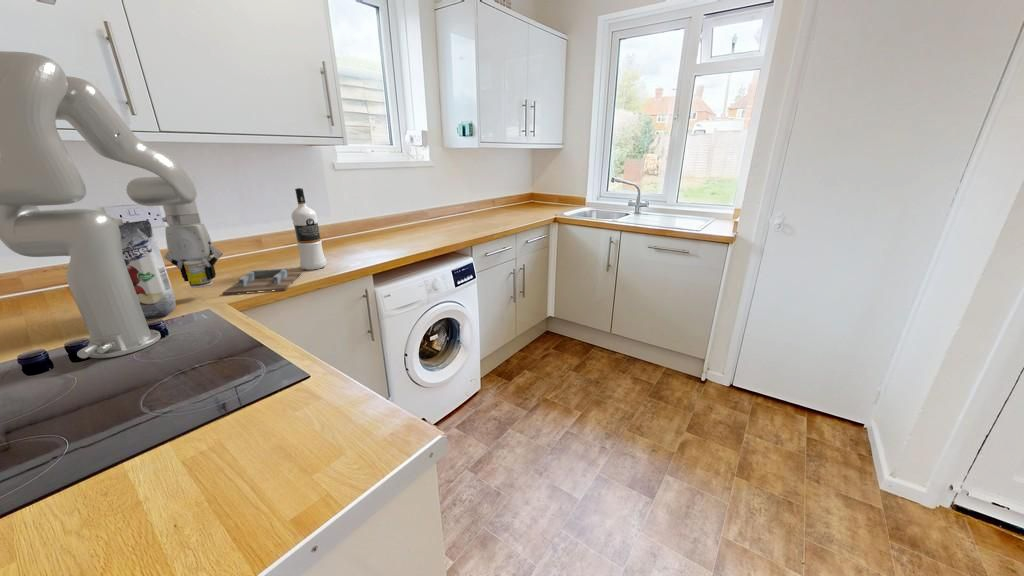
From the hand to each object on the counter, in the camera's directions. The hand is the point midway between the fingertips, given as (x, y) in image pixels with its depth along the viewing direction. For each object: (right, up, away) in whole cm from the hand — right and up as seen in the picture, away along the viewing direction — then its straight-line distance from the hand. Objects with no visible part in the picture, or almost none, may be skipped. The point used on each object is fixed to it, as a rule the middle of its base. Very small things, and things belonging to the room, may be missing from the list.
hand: (200, 278), depth 120 cm
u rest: (+12, -2, +13) cm, 18 cm away
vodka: (+19, +5, +32) cm, 37 cm away
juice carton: (-4, -11, -11) cm, 16 cm away
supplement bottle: (0, -2, +1) cm, 2 cm away
